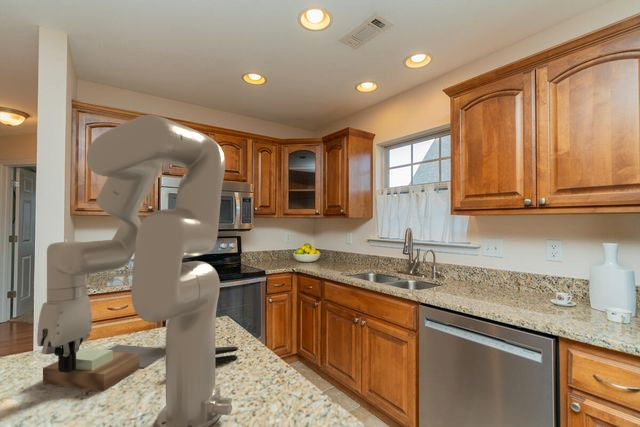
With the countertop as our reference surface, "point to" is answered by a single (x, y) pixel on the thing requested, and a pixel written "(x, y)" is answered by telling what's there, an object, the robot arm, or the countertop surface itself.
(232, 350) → the can opener
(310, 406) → the countertop surface
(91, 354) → the pale green flat block
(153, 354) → the mat
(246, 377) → the countertop surface
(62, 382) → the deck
